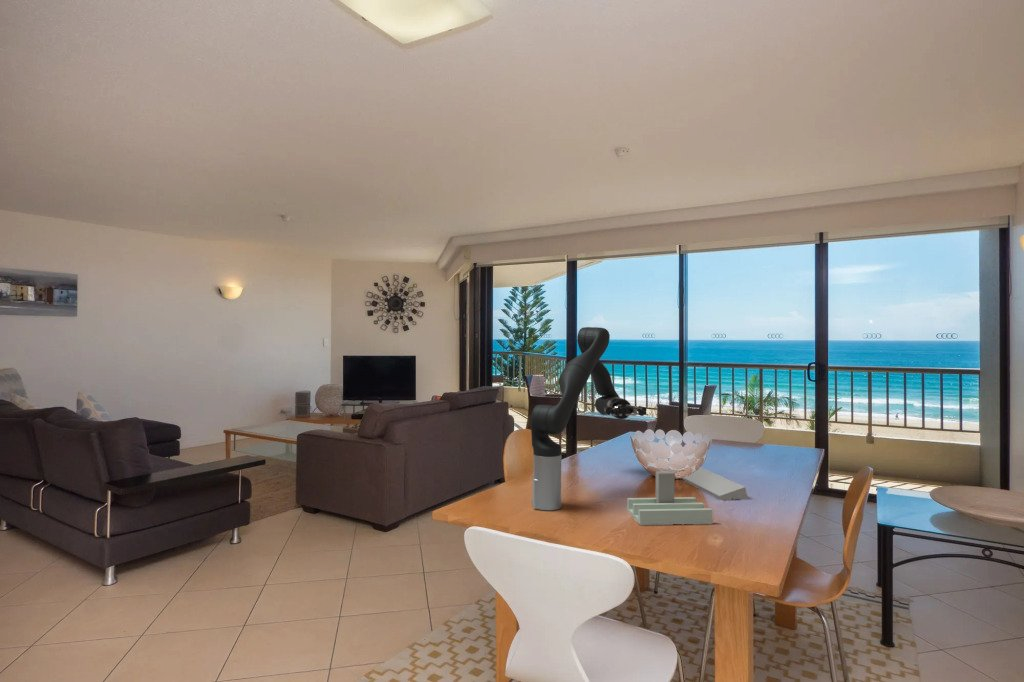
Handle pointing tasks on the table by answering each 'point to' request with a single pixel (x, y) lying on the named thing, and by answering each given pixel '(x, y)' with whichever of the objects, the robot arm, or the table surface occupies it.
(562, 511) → the table surface
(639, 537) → the table surface
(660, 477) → the grey rectangular block
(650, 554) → the table surface
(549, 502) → the robot arm
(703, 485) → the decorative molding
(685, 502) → the pale green ridged block
